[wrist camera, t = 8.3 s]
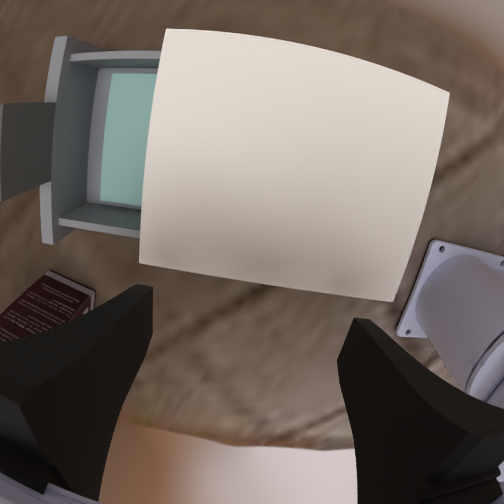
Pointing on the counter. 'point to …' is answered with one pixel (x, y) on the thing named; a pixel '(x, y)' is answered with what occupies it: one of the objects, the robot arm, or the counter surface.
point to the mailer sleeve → (286, 164)
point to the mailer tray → (83, 140)
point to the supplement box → (45, 307)
